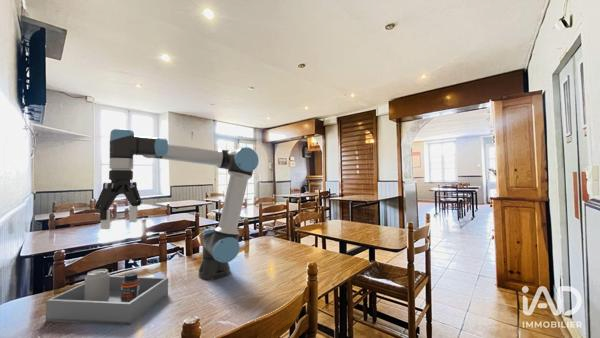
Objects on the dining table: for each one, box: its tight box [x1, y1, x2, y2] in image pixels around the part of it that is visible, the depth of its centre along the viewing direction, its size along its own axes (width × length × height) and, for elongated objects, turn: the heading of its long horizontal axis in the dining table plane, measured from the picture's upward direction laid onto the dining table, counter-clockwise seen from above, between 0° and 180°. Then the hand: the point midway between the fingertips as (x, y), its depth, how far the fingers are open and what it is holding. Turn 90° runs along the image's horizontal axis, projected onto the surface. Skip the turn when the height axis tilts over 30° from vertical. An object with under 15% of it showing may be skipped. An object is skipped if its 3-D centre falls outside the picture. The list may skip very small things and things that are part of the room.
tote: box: [45, 275, 169, 326], centre depth 97 cm, size 30×22×7 cm
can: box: [84, 268, 111, 301], centre depth 97 cm, size 8×8×12 cm
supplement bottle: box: [120, 272, 140, 302], centre depth 97 cm, size 6×6×11 cm
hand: (119, 225), depth 98 cm, fingers open, 13 cm apart
